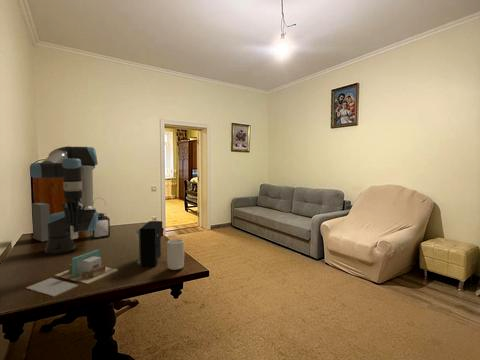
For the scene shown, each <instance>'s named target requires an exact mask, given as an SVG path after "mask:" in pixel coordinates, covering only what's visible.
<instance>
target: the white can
mask: <svg viewBox="0 0 480 360" xmlns="http://www.w3.org/2000/svg"><path fill="white" fill-rule="evenodd" d="M184 243H185V242H184V240H183V239H180V238H173V239H169V240H168V241H167V242H166V244H167V245H166V261H167V264H166V265H167V269H169V270H172V271H175V270H180V269H182V268H183V267H184V266H185V265H184V264H185V244H184Z"/></svg>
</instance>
